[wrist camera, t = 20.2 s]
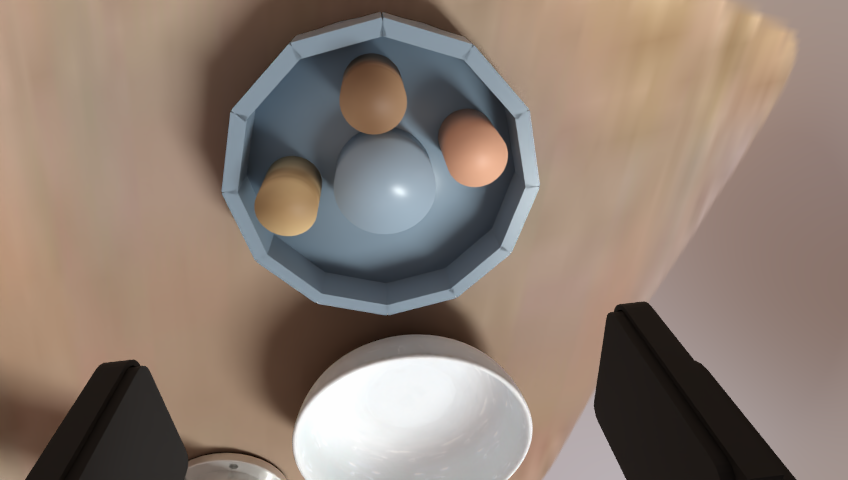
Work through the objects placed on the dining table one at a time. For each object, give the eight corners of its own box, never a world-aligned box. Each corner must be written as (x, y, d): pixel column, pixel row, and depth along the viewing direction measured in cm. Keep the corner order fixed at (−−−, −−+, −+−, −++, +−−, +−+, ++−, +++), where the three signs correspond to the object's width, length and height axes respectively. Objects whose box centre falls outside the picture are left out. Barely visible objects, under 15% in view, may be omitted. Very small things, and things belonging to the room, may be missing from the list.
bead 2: (399, 50, 33) (404, 64, 29) (404, 111, 35) (409, 131, 31) (338, 55, 33) (334, 70, 29) (346, 116, 35) (344, 137, 31)
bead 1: (326, 204, 38) (321, 233, 34) (272, 209, 38) (261, 238, 34) (317, 153, 36) (311, 178, 32) (260, 158, 36) (248, 183, 32)
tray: (300, 308, 44) (294, 339, 40) (185, 64, 33) (164, 77, 30) (537, 247, 43) (551, 273, 40) (496, -23, 33) (511, -19, 29)
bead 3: (445, 168, 38) (453, 193, 34) (432, 117, 36) (440, 137, 32) (497, 154, 38) (512, 178, 34) (487, 101, 36) (502, 120, 32)
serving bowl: (380, 264, 43) (382, 316, 37) (556, 362, 50) (581, 417, 44) (260, 415, 50) (246, 478, 44) (430, 480, 58) (437, 541, 52)
